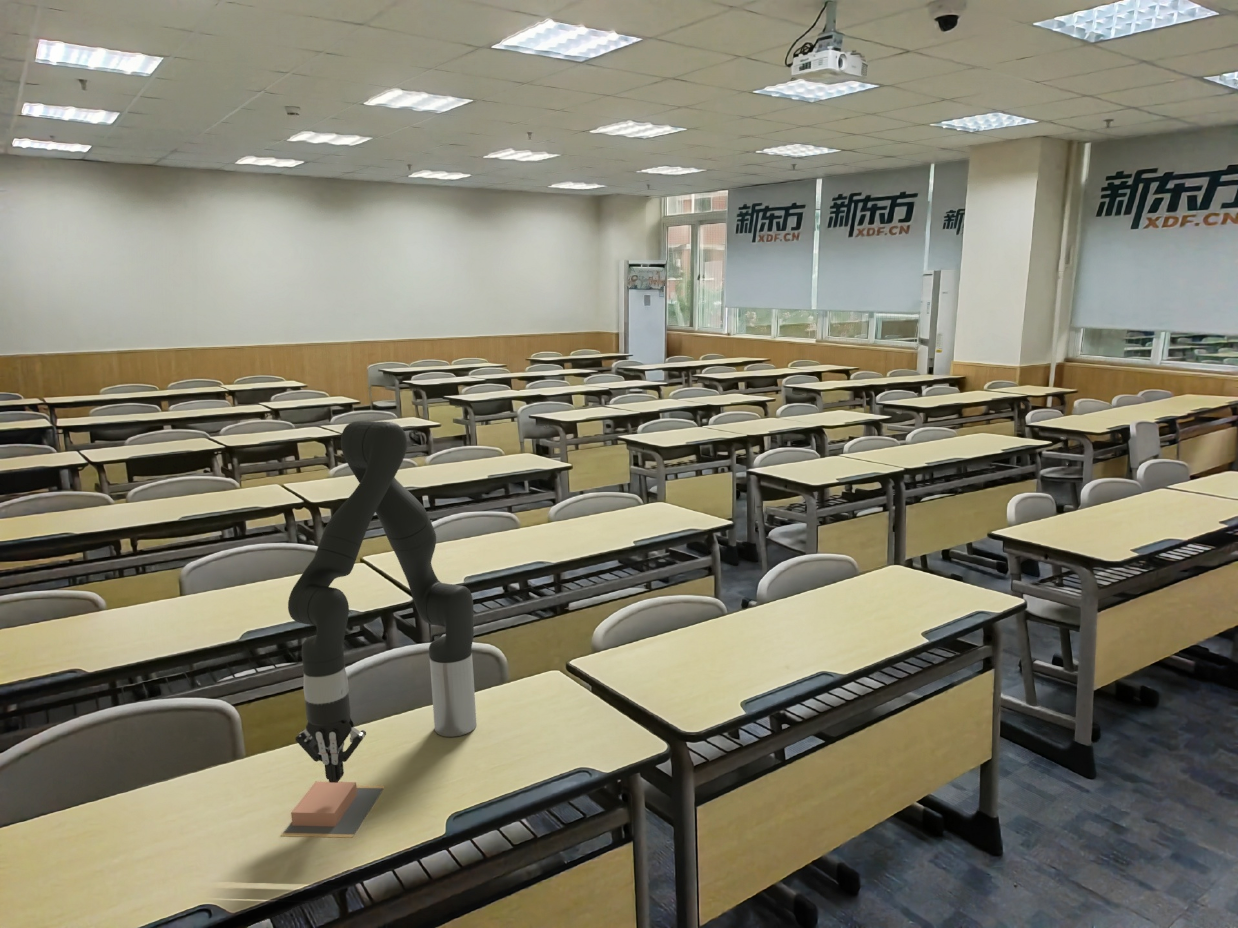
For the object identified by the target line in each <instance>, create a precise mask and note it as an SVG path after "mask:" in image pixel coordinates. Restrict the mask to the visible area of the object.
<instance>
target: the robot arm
mask: <svg viewBox="0 0 1238 928" xmlns="http://www.w3.org/2000/svg"><path fill="white" fill-rule="evenodd" d="M407 439H408V438H407V435H406V432H405V431H404V429H403V427H401V425H399V424H397V423H396V422H395V423H394V422H393V421H392V422H391V421H375V420H373V421H372V420H355V421H352V422H350V423H348V424H347V425H346V426H345V427H344V429H343V431H342V432H341V437H340V447H341V448H340V449H341V451H342V455H343V457H344V458H343V459H344V460H345V462H346V464H347V465H348V467H349V469H350V470H351V472H352V473H353V475H354V477H355V478H356V480H357V481H358V483H359V484H358V485H357V487H356V488H355V490H353V492H352V493H351V495H349V497H348V498H347V499H345V501H344V502H343V503H342V504H341V505H340V507H339V508H338V509H336V511H335V512H334V514H333V515H332V516H331V518H329V520H328V522H327V524H326V526H325V528H324V531H323V532H322V535H321V538H320V541H319V543H318V546H317V549H316V551H315V554H314V557H313V558H312V560H311V562H309V564H308V565H307V567H306V568H305V569H304V571H303V573H302V574H301V576H300V577H299V578H298V580H297V581H296V583H295V584H294V586H293V588H292V590H291V591H290V594H289V597H288V602H287V610H288V613H289V616H290V618H291V619H292V620H294V621H295V622H297V623H299V624H302V625H309V626H314V627H316V634H315V635H312V636H309V637H307V638H306V639H305V640H303V643H302V646H301V659H302V660H301V661H302V662H301V663H302V670H303V694H304V704H305V705H304V706H305V713H306V721H307V723H306V725H305V728H304V729H302V730H301V731H300V732H299V733H298V734H297V735H296V737H295V742H296V743H298V744H299V746H300V747H301V748H302V749H303V750H304V751H305V753H307V754H308V756H309V757H310V758H311V759H312V760H313V761H314V762H322V763H323V764H324V771H325V772H324V774H325V778H326V779H327V780H328V782H329V783H338V782H340V780H341V779H342V778H343V776H344V773H345V770H344V763H346V762H347V761H348V760H349V758H350V757H351V756H352V755H353V753H354V751H356V749H357V747H358V746H359V745H360V743H362V741H363V739H364V738H365V736H367V732H366V731H365V730H364V729H362V730H358V728H356V727H355V723H354V721H353V720H352V717H351V703H350V702H351V701H350V700H351V699H350V692H349V691H350V690H349V681H348V675H347V674H348V673H347V671H346V664H345V655H344V640H345V637H346V629H347V626H348V621H349V614H350V613H349V612H350V605H349V601H348V598H347V597H346V595H345V593H344V592H343V591H342V590H340V589H339V588H336V587H332V586H331V584H333V581H334V580H335V579H338V578H343V577H346V576H348V575H350V574H351V573H352V570H353V569H354V566H355V563H356V561H357V558H358V555H359V552H360V550H361V547H362V544H363V541H364V538H365V535H366V533H367V530H368V528H369V526H370V524H371V521H372V519H373V517H374V515H375V514H376V515H377V518H378V520H379V522H380V523H381V524H380V525H381V526H382V528H383V531H384V532H383V533H384V534H385V536H386V537H387V538H386V539H387V541H388V542H389V544H390V546H391V548H392V550H393V553H394V555H396V557H397V560H398V562H399V565H400V568H401V570H402V571H403V574H404V577H405V579H406V583H407V584H408V587H409V590H410V594H411V597H412V599H413V602H414V605H415V609H416V611H417V613H418V615H419V617H420V618H421V620H423V621H424V623H427V624H429V625H433V626H437V627H438V626H439V627H444V628H445V635H444V636H441V637H440V636H439V638H436V639H434V640H433V641H431V643H430V644H429V646H428V654H429V668H430V669H429V670H430V681H431V695H432V697H431V698H432V708H433V710H432V711H433V724H434V732H435V733H436V734H437V735H439V736H441V737H445V738H447V737H449V738H452V737H460V736H464V735H467V734H469V733H471V732H473V731H474V729H476V728H477V713H476V697H475V696H476V695H475V693H476V692H475V681H474V679H475V678H474V677H475V676H474V666H473V663H474V662H473V650H472V648H473V647H472V646H473V642H474V633H475V632H474V630H475V629H474V627H475V626H474V625H475V624H474V614H475V613H474V600H473V595H472V592H471V590H470V589H469V588H468V587H466V586H464V585H459V584H451V583H445V582H441V581H440V580H439V578H438V577H437V575H436V573H435V571H434V569H433V565H432V560H433V556H434V553H435V549H436V544H437V534H436V530H435V528H434V525H433V523H432V521H431V518H430V517H429V514H428V512H427V510H426V508H425V507H424V505H423V504H422V503H421V502H420V501H419V500H418V499H417V498H416V497H415V495H413V494H412V493H411V492H410V491H409V490H408V489H407V488H405V486H403V484H401V483H400V482H399V481H398V480H397V478H396V477H395V476H396V475H397V473H398V471H399V469H400V467H401V465H402V463H403V460H404V458H405V456H406V452H407V447H408V440H407ZM349 735H350V737H349ZM348 737H349V741H350V744H349V745H348V747H347V748H346V750H344V746H345V741H346V740H347V739H348ZM323 764H322V765H323Z"/></svg>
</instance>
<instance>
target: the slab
mask: <svg viewBox="0 0 1238 928" xmlns="http://www.w3.org/2000/svg"><path fill="white" fill-rule="evenodd" d="M357 786H358V785H357V782H356V781H338V783H329V781H315V782H314V783H313V784H312V785H311V787H309V789H308V790H307V792H306V793H305V794H304V795H303V797H302V798H301V799H300V800H299V802H298V803H297V804H296V806H294V808H293V809H292V811H291V812H290V816H291V822H292V826H334V827H335V826H336V825H337V823H338V822H339V821H340V819H341V818H342V816H343V815H344V813H345V812H346V810H347V809H348V807H349V806H350V805H351V803H352V802H353V800H354V799H355V797H356V796H357Z"/></svg>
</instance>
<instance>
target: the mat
mask: <svg viewBox="0 0 1238 928" xmlns="http://www.w3.org/2000/svg"><path fill="white" fill-rule="evenodd" d="M356 786H357V796H356V797H355V799H354V800H353V802H352V803H351V805H350V806H349V807H348V809H347V810H346V812H345V813H344V815H343V816H342V818H341V819H340V821H339V822H338V823H337V825H336V826H335V827H334V826H292V821H291V822H290V824H289V825H288V826H287V828H286V829H285V830H284V831H283V833H281V835H280V837H297V838H298V837H299V838H300V837H303V838H304V837H306V838H307V837H308V838H344V839H346V838H347V839H348V838H350V839H352V838H354V837H355V834H356V833H357V831H358V830H359V828H360V827H361V825H362V823H363V822H364V820H365V819H366V817H367V815H368V814H369V812H370V811H371V809H372V807H373V806H374V805H375V803H376V801H377V800H378V798H379V797H380V795H381V794H382V792H383V790H384V788H385V787H386V786H385V785H356Z"/></svg>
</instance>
